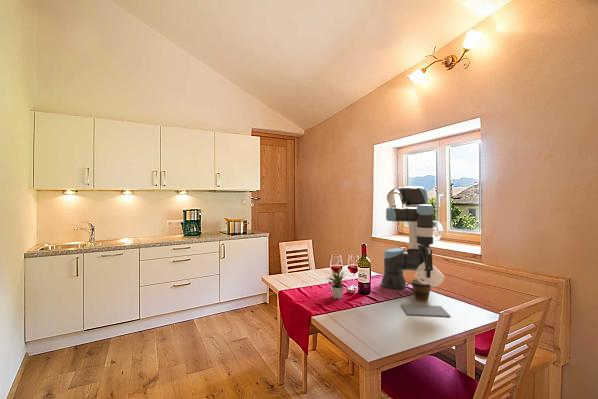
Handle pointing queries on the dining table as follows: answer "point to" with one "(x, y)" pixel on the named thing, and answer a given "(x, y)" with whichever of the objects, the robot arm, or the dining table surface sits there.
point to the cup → (435, 275)
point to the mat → (424, 310)
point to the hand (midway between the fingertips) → (424, 280)
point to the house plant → (337, 284)
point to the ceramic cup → (420, 290)
